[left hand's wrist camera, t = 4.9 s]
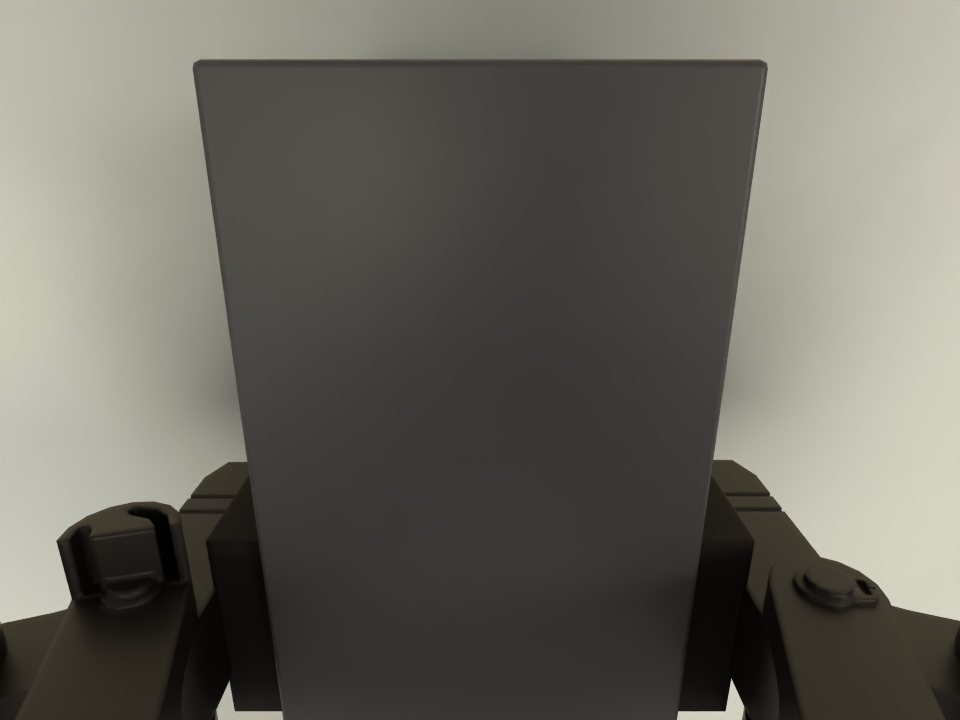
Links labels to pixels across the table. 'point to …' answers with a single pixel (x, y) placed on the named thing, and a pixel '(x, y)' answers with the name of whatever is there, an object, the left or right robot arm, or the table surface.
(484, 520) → the bar
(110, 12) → the table surface
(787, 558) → the left robot arm
